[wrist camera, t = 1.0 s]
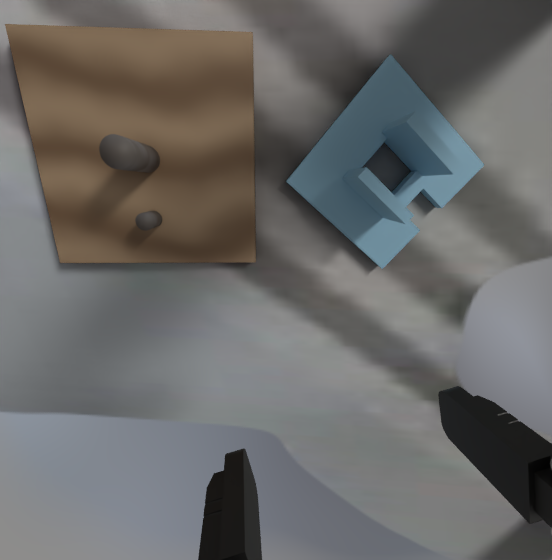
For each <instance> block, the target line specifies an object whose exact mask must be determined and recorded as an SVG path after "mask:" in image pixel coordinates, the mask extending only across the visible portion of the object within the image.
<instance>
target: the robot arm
mask: <svg viewBox="0 0 552 560" xmlns="http://www.w3.org/2000/svg"><path fill="white" fill-rule="evenodd" d="M439 405H440V413H441V422H442V426H443V429H444V431H445V433H446V435H447V436H448V438H449V439H450V440H451V441H452V443H453V444H454V445H455V446H456V447H457V448H458V449H459V450H460V451H461V452H462V453H463V454H464V455H465V456H466V457H467V458H468V459H469V460H470V461H471V463H472V464H473V465H474V466H475V467H476V468H477V469H478V470H479V471H480V472H481V473H482V474H483V475H484V476H485V477H486V478H487V479H488V480H489V482H490V483H491V484H492V485H493V486H494V487H495V488H496V489H497V490H498V491H499V492H500V493H501V494H502V495H503V496H504V497H505V498H506V499H507V500H508V502H509V503H510V504H511V505H512V506H513V507H514V508H515V509H516V510H517V511H518V512H519V513H520V514H521V515H522V516H523V517H524V518H525V519H526V520H527V522H528V523H529V524H532V523H535V522H538V521H541V520H544V521H545V522H546V523H547V524H548V525H549V526H550V527H551V535H552V444H551V443H550V442H548V441H547V440H545V439H544V438H543V437H541V436H540V435H538V434H537V433H536V432H534V431H533V430H532V429H530V428H529V427H527V426H526V425H525V424H523V423H522V422H519V421H518V419H516V418H515V417H514V416H512V415H511V414H508V413H507V411H505V410H504V409H503V408H501V407H500V406H498V405H497V404H496V403H494V402H492V401H490V400H487V399H485V398H483V397H480V396H474V397H473V396H472V395H471V394H469V393H468V392H467V391H465V390H464V389H463V388H461V387H459V386H457V387H453V388H450V389H446V390H443V391H440V392H439ZM259 523H260V522H259V507H258V494H257V488H256V483H255V479H254V476H253V473H252V469H251V466H250V463H249V459H248V456H247V453H246V450H245V449H241V450H237V451H234V452H231V453H227V454H226V455H225V465H224V471H221V472H218V473H214V475H213V477H212V479H211V481H210V483H209V485H208V487H207V492H206V500H205V508H204V518H203V525H202V534H201V542H200V550H199V559H198V560H262V554H261V553H262V552H261V537H260V524H259Z"/></svg>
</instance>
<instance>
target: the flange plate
mask: <svg viewBox="0 0 552 560" xmlns="http://www.w3.org/2000/svg"><path fill="white" fill-rule="evenodd" d="M383 143H385V144H386V145H387V146H388V147H389V148H390V149H391V150H392V151H393V152H394V153H395V154H396V155H397V156H398V157H399V159H400V160H401V161H402V162H403V163H404V164H405V165H406V166H407V167H408V168H409V169H410V170H411V172H410V173H409V174H408V175H407V176H406V177H405V178H404V179H403V180H402V181H401V183H400V184H399V185H398V186H397V187H396V188H395V189H394V190H393V191H392V192H390V191H389V189H388V188H387V187H386V186H385V185H384V184H383V183H382V182H381V181H380V180H379V179H378V178H377V177H376V176H375V175H374V174H373V173H372V172H371V171H370V170H369V169H368V168H367V167H364V168H362V167H363V166H364V165H365V163H366V162H367V161H368V160H369V159H370V158H371V157H372V155H373V154H374V153H375V152H376V151H377V150H378V149H379V147H380V146H381V145H382V144H383ZM483 166H484V164H483V163H482V161H481V160H480V159H479V158H478V157H477V156H476V154H475V153H474V152H473V151H472V150H471V148H470V147H469V146H468V145H467V144H466V143H465V141H464V140H463V139H462V138H461V137H460V135H459V134H458V133H457V132H456V131H455V130H454V128H453V127H452V126H451V125H450V124H449V122H448V121H447V120H446V119H445V118H444V117H443V115H442V114H441V113H440V112H439V111H438V109H437V108H436V107H435V106H434V105H433V104H432V102H431V101H430V100H429V99H428V98H427V96H426V95H425V94H424V93H423V92H422V91H421V89H420V88H419V87H418V86H417V85H416V83H415V82H414V81H413V80H412V79H411V78H410V76H409V75H408V74H407V73H406V72H405V70H404V69H403V68H402V67H401V66H400V65H399V63H398V62H397V61H396V60H395V59H394V57H393V56H392V55H391V54H390V55H389V56H388V57H387V58H386V59H385V60H384V61H383V63H382V64H381V65H380V66H379V68H378V69H377V70H376V71H375V73H374V74H373V75H372V76H371V77H370V79H369V80H368V81H367V82H366V84H365V85H364V86H363V87H362V88H361V90H360V91H359V92H358V93H357V95H356V96H355V97H354V98H353V99H352V101H351V102H350V103H349V104H348V106H347V107H346V108H345V109H344V110H343V112H342V113H341V114H340V115H339V117H338V118H337V119H336V120H335V122H334V123H333V124H332V125H331V126H330V128H329V129H328V130H327V131H326V133H325V134H324V135H323V136H322V137H321V139H320V140H319V141H318V142H317V144H316V145H315V146H314V147H313V148H312V150H311V151H310V152H309V153H308V155H307V156H306V157H305V158H304V159H303V161H302V162H301V163H300V164H299V166H298V167H297V168H296V169H295V171H294V172H293V173H292V174H291V175H290V177H289V178H288V179H287V180H286V182H287V183H288V184H289V185H290V186H291V187H292V188H293V189H294V190H296V191H297V192H298V193H299V194H300V195H301V196H302V197H303V198H304V199H305V200H306V201H308V202H309V203H310V204H311V205H312V206H313V207H314V208H315V209H316V210H317V211H319V212H320V213H321V214H322V215H323V216H324V217H325V218H326V219H327V220H328V221H330V222H331V223H332V224H333V225H334V226H335V227H336V228H337V229H338V230H339V231H340V232H342V233H343V234H344V235H345V236H346V237H347V238H348V239H349V240H350V241H351V242H353V243H354V244H355V245H356V246H357V247H358V248H359V249H360V250H361V251H362V252H364V253H365V254H366V255H367V256H368V257H369V258H370V259H371V260H372V261H373V262H374V263H376V264H377V265H378V266H379V267H380V268H382V269H383V268H384V267H385V266H386V265H387V264H388V263H389V262H390V261H391V260H392V258H393V257H394V256H395V255H396V254H397V253H398V252H399V251H400V250H401V249H402V248H403V247H404V246H405V245H406V244H407V243H408V242H409V241H410V240H411V239H412V238H413V237H414V236H415V235H416V234H417V233H418V232H419V231H420V230H419V229H418V228H417V227H416V226H415V225H414V224H413V223H412V222H411V221H410V219H411V218H412V217H413V216H414V215H413V214H412V213H411V212H410V211H409V210H408V209H407V208H406V206H407V205H408V204H409V203H410V202H411V201H412V200H413V199H414V198H415V197H416V196H417V195H418V194H419V193H420V192H421V193H422V194H423V195H424V196H425V197H426V198H427V199H428V200H429V201H430V202H431V203H432V204H433V205H434V206H435V207H437V208H443V207H444V205H445V204H446V203H447V202H448V201H449V200H450V199H451V198H452V197H453V196H454V195H455V194H456V193H457V192H458V191H459V190H460V189H461V188H462V187H463V186H464V185H465V184H466V183H467V182H468V181H469V180H470V179H471V178H472V177H473V176H474V175H475V174H476V173H477V172H478V171H479V170H480V169H481V168H482V167H483Z"/></svg>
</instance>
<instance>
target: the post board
mask: <svg viewBox="0 0 552 560" xmlns="http://www.w3.org/2000/svg"><path fill="white" fill-rule="evenodd" d="M5 26H6V30H7V35H8V39H9V43H10V48H11V52H12V56H13V61H14V65H15V69H16V74H17V78H18V82H19V87H20V91H21V95H22V100H23V104H24V108H25V113H26V117H27V121H28V126H29V130H30V134H31V139H32V143H33V147H34V152H35V156H36V160H37V165H38V169H39V173H40V178H41V182H42V186H43V191H44V195H45V199H46V204H47V208H48V212H49V217H50V221H51V225H52V230H53V234H54V238H55V243H56V247H57V251H58V256H59V260H60V263H205V262H256V230H255V156H254V83H253V34H252V32H233V31H202V30H171V29H140V28H109V27H78V26H47V25H16V24H5Z"/></svg>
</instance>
